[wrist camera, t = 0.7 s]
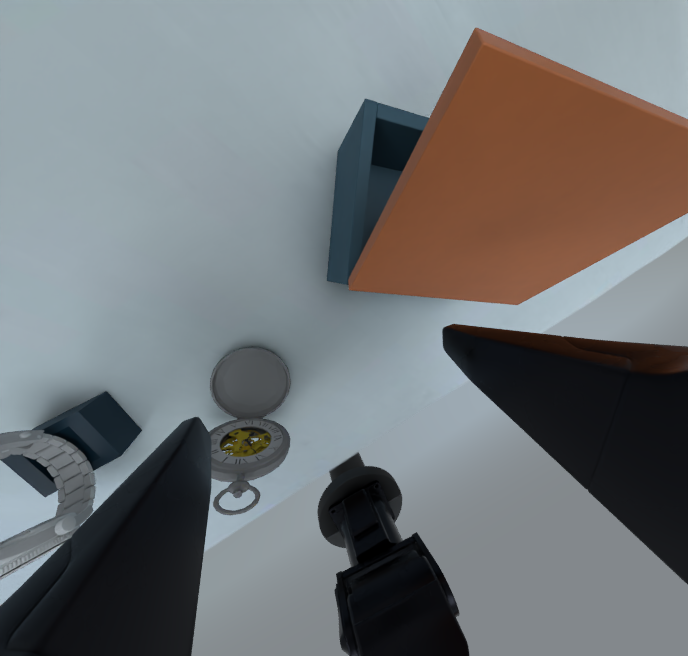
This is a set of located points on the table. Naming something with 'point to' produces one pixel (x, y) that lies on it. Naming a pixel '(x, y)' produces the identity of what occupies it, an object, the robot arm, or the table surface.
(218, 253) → the table surface
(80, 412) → the watch
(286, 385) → the pocket watch
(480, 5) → the table surface
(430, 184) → the box lid
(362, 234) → the storage box
